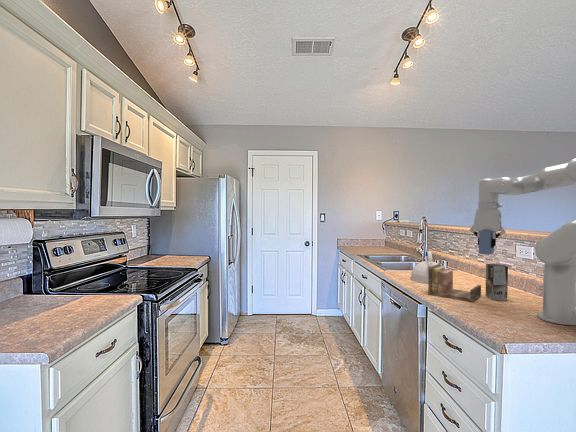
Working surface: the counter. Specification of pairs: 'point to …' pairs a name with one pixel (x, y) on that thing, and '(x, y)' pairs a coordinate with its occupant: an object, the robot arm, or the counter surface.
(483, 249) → the navy book
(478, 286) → the book rack
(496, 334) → the counter surface
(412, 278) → the kettle
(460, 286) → the counter surface
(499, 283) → the coffee box
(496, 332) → the counter surface
